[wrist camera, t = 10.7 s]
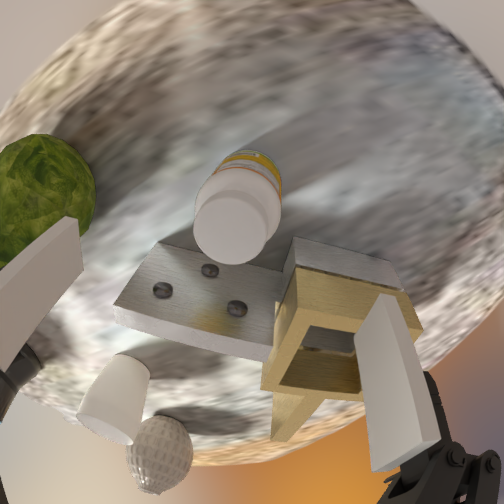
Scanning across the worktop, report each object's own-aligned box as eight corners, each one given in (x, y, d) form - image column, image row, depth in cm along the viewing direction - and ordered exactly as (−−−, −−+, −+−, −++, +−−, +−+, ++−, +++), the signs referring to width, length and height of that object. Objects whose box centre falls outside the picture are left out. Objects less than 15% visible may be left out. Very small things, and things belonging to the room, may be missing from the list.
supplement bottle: (249, 222, 26) (233, 291, 17) (203, 181, 24) (161, 233, 16) (294, 181, 23) (302, 235, 15) (247, 135, 22) (224, 162, 13)
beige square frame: (245, 373, 37) (236, 435, 29) (293, 235, 26) (297, 307, 18) (315, 385, 37) (317, 444, 29) (390, 261, 26) (423, 330, 18)
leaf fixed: (155, 288, 31) (120, 353, 22) (159, 204, 25) (108, 260, 17) (350, 332, 31) (363, 401, 23) (390, 261, 26) (423, 330, 18)
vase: (143, 425, 53) (123, 487, 38) (133, 399, 46) (106, 473, 32) (199, 439, 53) (185, 505, 38) (199, 417, 46) (181, 497, 32)
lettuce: (-1, 216, 28) (-55, 258, 18) (66, 106, 21) (-24, 132, 11) (45, 278, 32) (-2, 331, 23) (129, 193, 25) (56, 256, 16)
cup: (114, 339, 37) (79, 406, 26) (167, 371, 39) (143, 441, 29) (100, 362, 41) (71, 419, 30) (145, 389, 43) (124, 448, 33)
